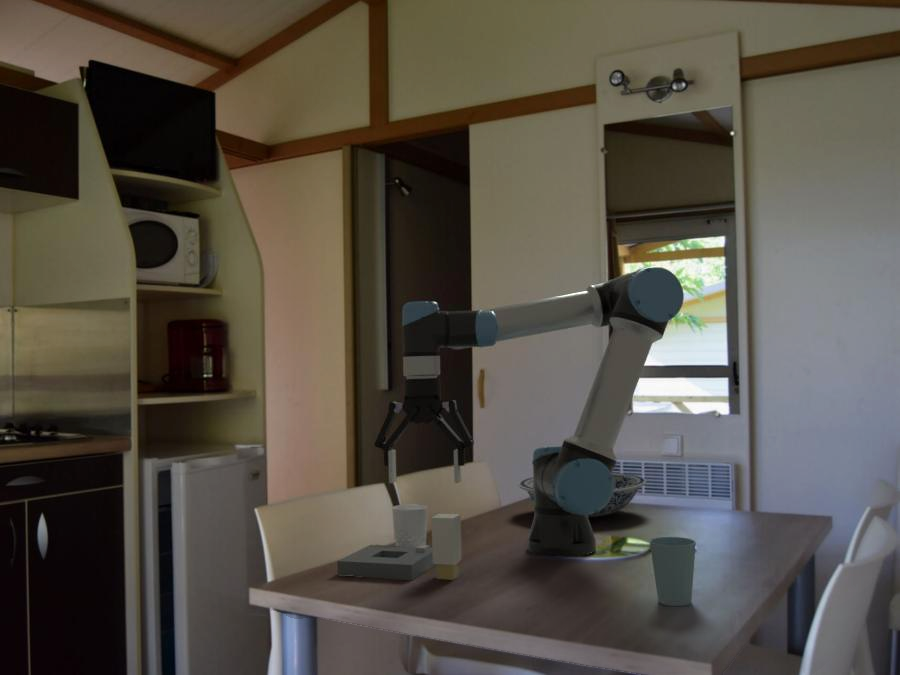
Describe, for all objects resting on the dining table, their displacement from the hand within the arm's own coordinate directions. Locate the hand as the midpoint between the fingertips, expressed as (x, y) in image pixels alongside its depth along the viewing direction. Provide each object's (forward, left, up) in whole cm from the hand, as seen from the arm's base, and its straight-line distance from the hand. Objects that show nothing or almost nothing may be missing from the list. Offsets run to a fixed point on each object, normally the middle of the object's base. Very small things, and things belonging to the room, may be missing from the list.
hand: (425, 482), depth 174 cm
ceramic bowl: (-19, -70, -18) cm, 75 cm away
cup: (-49, +11, -18) cm, 54 cm away
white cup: (+11, -18, -18) cm, 28 cm away
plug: (-5, +3, -18) cm, 19 cm away
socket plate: (+9, -1, -18) cm, 20 cm away
